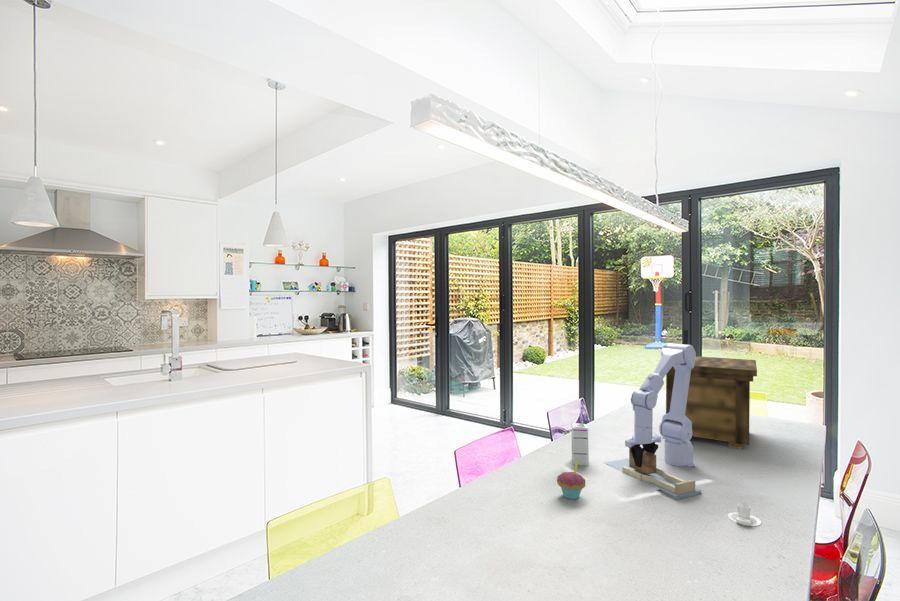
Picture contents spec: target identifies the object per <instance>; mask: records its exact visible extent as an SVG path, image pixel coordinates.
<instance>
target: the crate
mask: <svg viewBox="0 0 900 601" xmlns="http://www.w3.org/2000/svg"><path fill="white" fill-rule="evenodd" d="M665 377H666V378H665V380H666V381H665V382H666V384H665V398H666V399H665V414H667V413H669V412H670V405H671V398H672V391H673V384H674V377H675V369H674V367H673V366H672V368H671V369H670V370H669V372H668V373H667V374H666V375H665ZM754 377H758V369H757V361H756V359H745V358H729V357H716V356H715V357H714V356H713V357H712V356H699V355H698V356H697V355H696V357H695V364H694V368H693V369H691V375H690V382H689V390H688V397H687V404H686V412H685V415H686V416H687V418H688V419H689V420H690V421H691V422H692V437H695V438H703V439H710V440H716V441H723V442H728V447H730V448H736V449H743V445H745V446H750V402H751V400H750V395H751V394H750V389H751V388H750V387H751V383H750V382H753V383H754ZM672 421H673V422H677V423H681V422H678V421H674V420H672ZM681 424H682V423H681Z"/></svg>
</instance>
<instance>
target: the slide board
mask: <svg viewBox="0 0 900 601" xmlns="http://www.w3.org/2000/svg"><path fill="white" fill-rule="evenodd" d="M604 464H605V465H607V466H609V467H612V468H614V469H615V470H618V471H620V472H622V473H624V474H627V475H629V476H631V477H633V478H635V479H637V480H639V481H641V482H644V483H646V484H648V485H650V486H653V487H655V488H657V489H656V491H657V492H658V493H661V494H663V495H664V496H667V497H669V498H672V499H674V500H675V501H677V500H680V499H685V498H689V497H693V496H697V495H701V494H702V489H699V488H698V487H696V479H687V480H684V479H681V478H679V477H677V476H675V475H672V474H669V473H668V472H667V471H666V470H665V469H663V468H660V467H658V466H656V473H653V474H648V475H647V474H645V473H643V472H640V471H638V470H636V469H633V468H631V467H629V459H628V458H622V459H617V460H611V461H606V462H605V461H604Z"/></svg>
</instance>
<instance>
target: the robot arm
mask: <svg viewBox="0 0 900 601" xmlns="http://www.w3.org/2000/svg"><path fill="white" fill-rule="evenodd" d="M660 355H661V356H660V357H661V358H660V360H659V362H658V364H657V365H656V368H655V369H654V372H653V373H649V374H648V375H647V377H646V378H645V380H644V381H643V383H642V384H641V386H640V387H639V389H636V390H634V391H633V392H632V394H631V397H630V403H631V405H632V411H633V412H634V413H633V414H634V421H633V422H634V434H633V435H632V437H631V438H629V439H626V440H625V441H624V446H625V448H626V447H627V448H628V449H629V450H630V451H631V453H632V455H633V458H634V462H635V466H637V467H641V465H642V456H643V453H644V451H647V452H650V453H652V454H655V455H656V452H657V450H658V449H659V443H662V439H663V440H664V462H665V463H666V464H667V465H668V464H669V465H670V466H678V467H682V466H687V467H690V468H691V467H696V464H695V463H694V448H693V444H692V442H691V439H692V437H693V436H692V422H691V421H690V420H689V419H688V418H687V416H686V415H685V412H686V404H687V397H688V390H689V382H690V375H691V369H693V368H694V364H695V357H696V356H697V352H696V350H695V347H694V346H693V345H692V344H682V343H681V344H680V343H669V342H666V343H664V345H663V346H662V347H661V349H660ZM672 366H673V367H674V369H675V377H674V384H673V391H672V398H671V405H670V412H669V413H667V414H666V413H665V414H663V415H662V417H661V422H660V423H659V430H658V432H659V434H660V436H659V435H656V434H655V435H653V420H654V419H653V412H654V411H653V409H655V407H656V405H657V402H658V397H659V395H658V394H659V392H660V391H661V390H662V389H663V388H662V387H663V386H664V384H665V381H664V378H665V377H666V374H667V373H668V372H669V370H670V369H671V368H672ZM672 420H674V421H678V422H681V423H682V424H681V423H677V422H673V421H672ZM657 443H658V444H657Z"/></svg>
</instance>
